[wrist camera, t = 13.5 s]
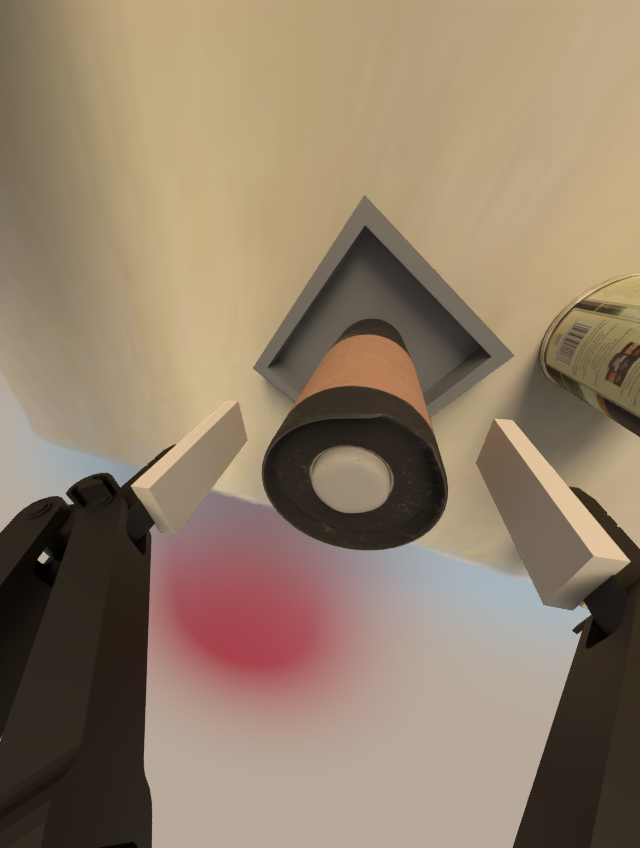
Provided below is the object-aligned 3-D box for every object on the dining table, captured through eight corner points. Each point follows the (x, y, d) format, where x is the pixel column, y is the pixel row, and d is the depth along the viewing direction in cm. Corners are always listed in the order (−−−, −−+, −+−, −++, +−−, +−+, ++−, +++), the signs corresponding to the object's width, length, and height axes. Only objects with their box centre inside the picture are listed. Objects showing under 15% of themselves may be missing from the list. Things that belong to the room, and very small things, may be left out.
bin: (267, 357, 30) (252, 368, 27) (367, 206, 21) (364, 194, 18) (370, 442, 34) (369, 461, 30) (496, 343, 24) (514, 355, 21)
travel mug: (342, 391, 29) (291, 550, 13) (326, 325, 26) (227, 426, 9) (410, 380, 27) (454, 556, 11) (402, 305, 24) (450, 394, 7)
